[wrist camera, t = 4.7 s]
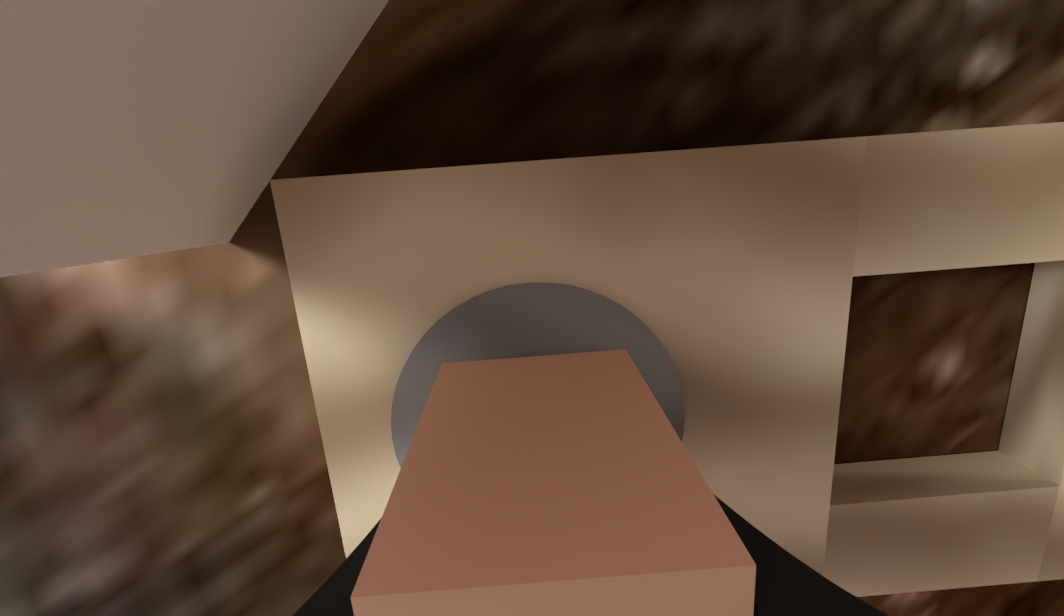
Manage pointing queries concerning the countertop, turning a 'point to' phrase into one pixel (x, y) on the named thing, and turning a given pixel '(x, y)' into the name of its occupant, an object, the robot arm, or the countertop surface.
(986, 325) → the countertop surface
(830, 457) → the pocket board
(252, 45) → the milk
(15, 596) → the countertop surface
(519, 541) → the terracotta block
